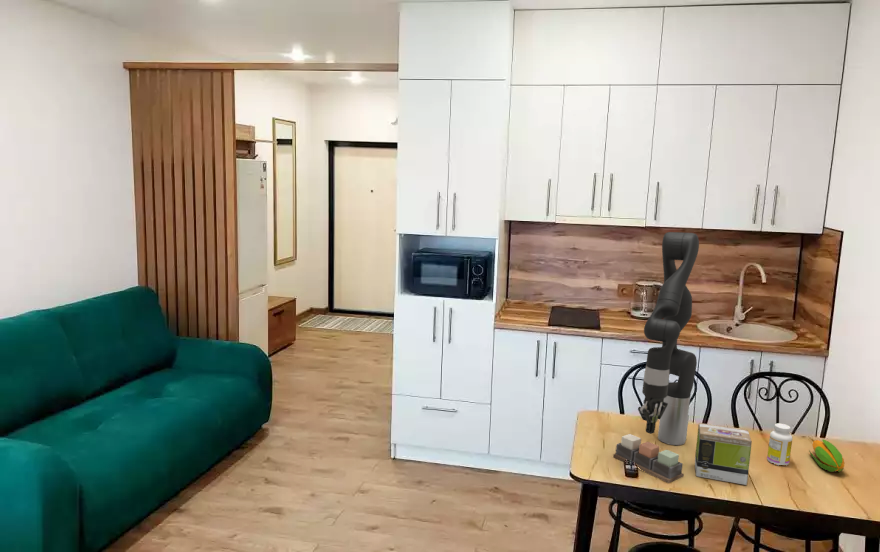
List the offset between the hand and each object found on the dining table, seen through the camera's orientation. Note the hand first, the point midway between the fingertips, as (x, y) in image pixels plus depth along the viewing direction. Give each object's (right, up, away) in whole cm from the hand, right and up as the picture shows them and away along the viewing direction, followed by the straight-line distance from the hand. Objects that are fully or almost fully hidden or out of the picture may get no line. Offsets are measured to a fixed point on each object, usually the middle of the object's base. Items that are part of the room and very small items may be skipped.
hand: (649, 432), depth 208 cm
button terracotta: (0, -8, +2) cm, 8 cm away
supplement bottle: (+46, -13, +10) cm, 49 cm away
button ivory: (-4, -7, +7) cm, 11 cm away
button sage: (+4, -9, -4) cm, 11 cm away
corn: (+62, -13, +11) cm, 64 cm away
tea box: (+22, -13, -1) cm, 26 cm away
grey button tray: (0, -12, +2) cm, 12 cm away
